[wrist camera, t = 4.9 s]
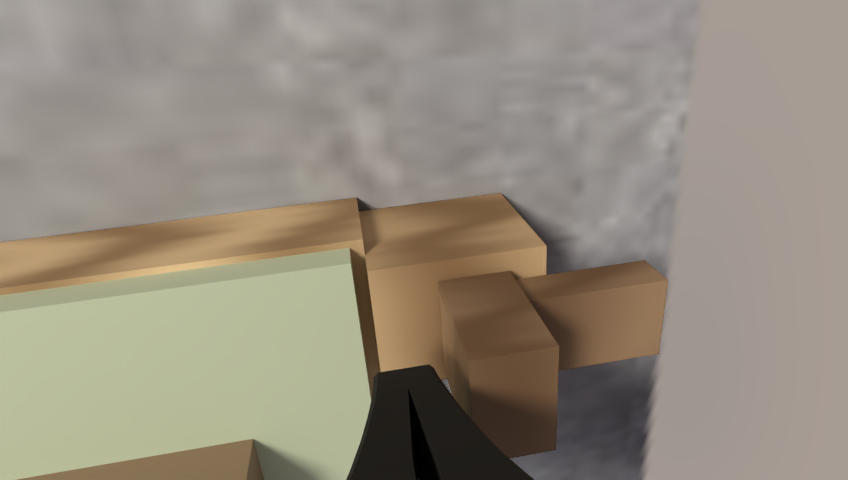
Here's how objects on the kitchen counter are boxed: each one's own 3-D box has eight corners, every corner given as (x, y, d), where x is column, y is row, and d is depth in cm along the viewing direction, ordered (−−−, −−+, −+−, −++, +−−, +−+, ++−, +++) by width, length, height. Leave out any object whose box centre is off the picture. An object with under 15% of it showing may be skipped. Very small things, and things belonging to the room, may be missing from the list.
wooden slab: (500, 179, 19) (546, 229, 15) (505, 439, 24) (541, 529, 20) (-169, 263, 17) (-329, 350, 13) (-9, 532, 22) (-86, 656, 18)
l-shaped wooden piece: (645, 250, 16) (729, 318, 12) (636, 338, 17) (710, 420, 14) (438, 281, 15) (468, 361, 12) (444, 370, 16) (474, 464, 13)
